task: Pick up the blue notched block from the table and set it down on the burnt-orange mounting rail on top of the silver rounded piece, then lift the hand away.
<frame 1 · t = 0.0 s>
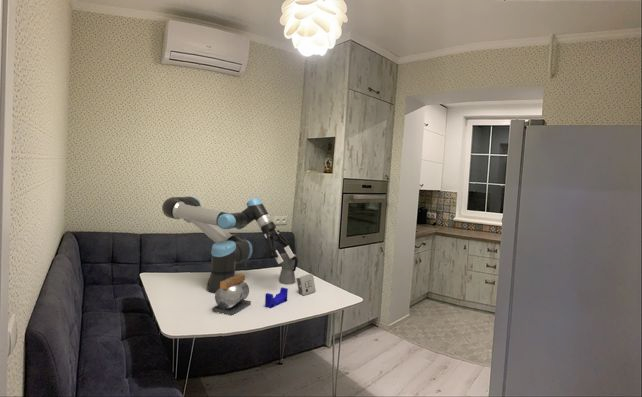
hand: (286, 260, 172), 15 cm above the table, tool tilted 35°, fingers open, 13 cm apart
silver rounded piece: (232, 307, 144), on the table
coffeepot: (288, 282, 185), on the table
electrical switch: (305, 293, 169), on the table
blue notched block: (275, 304, 152), on the table
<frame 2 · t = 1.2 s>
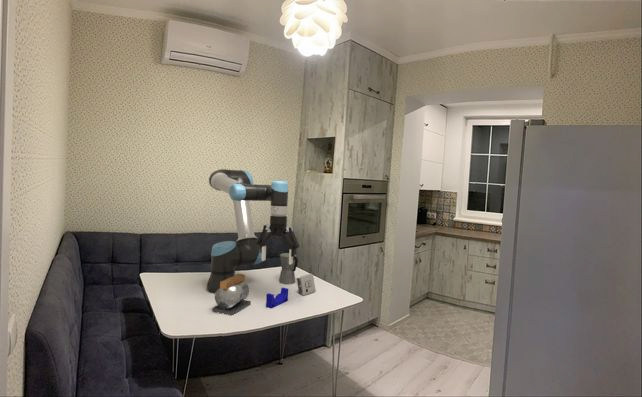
hand: (277, 262, 152), 19 cm above the table, tool pointing down, fingers open, 13 cm apart
nothing on the table moved.
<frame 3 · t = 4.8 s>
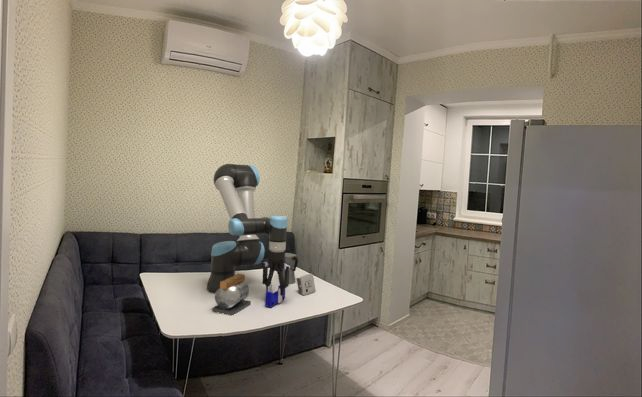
hand: (274, 300, 152), 1 cm above the table, tool pointing down, fingers closed on blue notched block, 5 cm apart
blue notched block: (273, 302, 152), on the table, touching gripper
everything else where it was.
when the fingers open (13 cm above the table, at t = 9.4 s): blue notched block stays where it is, resting on silver rounded piece.
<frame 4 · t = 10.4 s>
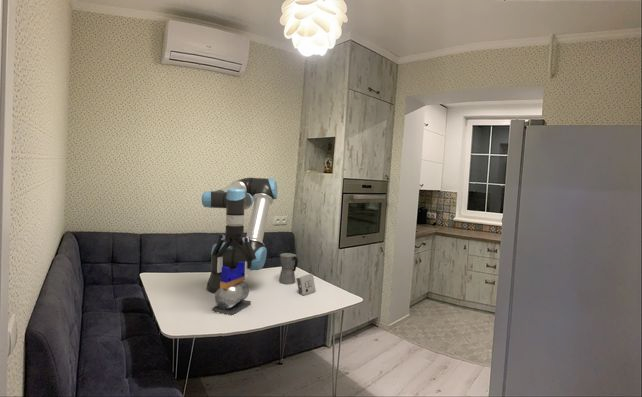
hand: (233, 274, 144), 15 cm above the table, tool pointing down, fingers open, 13 cm apart
blue notched block: (232, 278, 143), point 13 cm above the table, touching silver rounded piece
everything else where it was.
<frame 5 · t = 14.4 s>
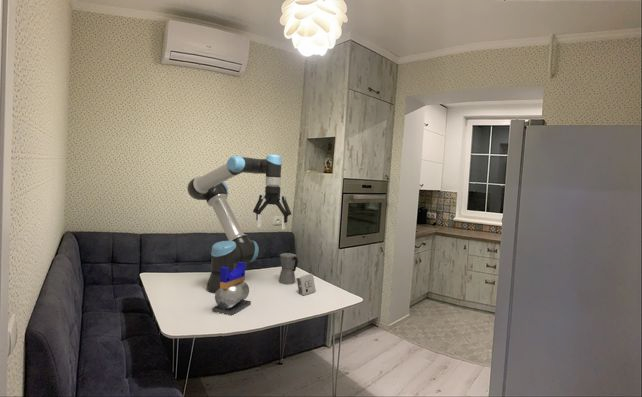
hand: (271, 228, 168), 32 cm above the table, tool pointing down, fingers open, 13 cm apart
nothing on the table moved.
at the end: blue notched block inside the target area on the silver rounded piece (0.9 cm from its centre), point 12.8 cm above the silver rounded piece's base; blue notched block tilted 0°; the gripper is holding nothing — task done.
